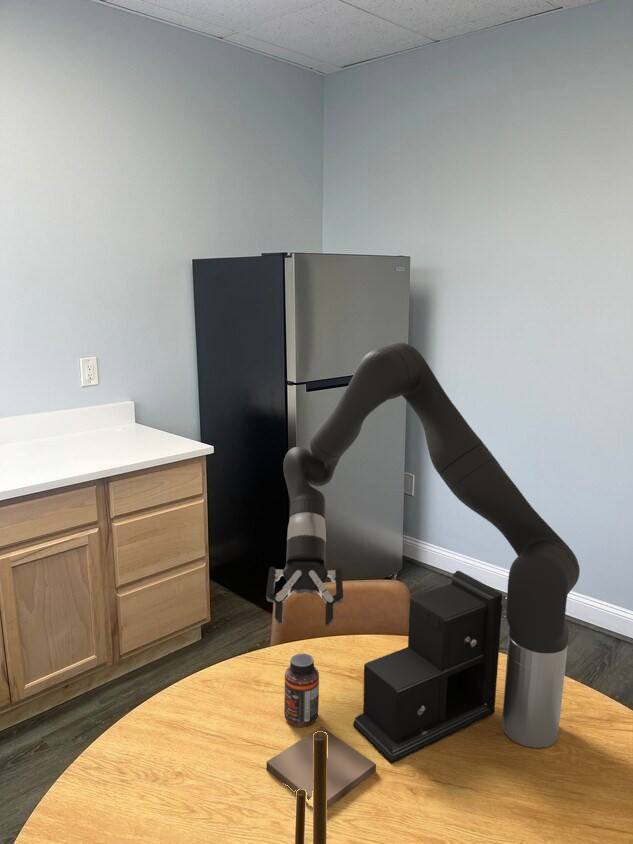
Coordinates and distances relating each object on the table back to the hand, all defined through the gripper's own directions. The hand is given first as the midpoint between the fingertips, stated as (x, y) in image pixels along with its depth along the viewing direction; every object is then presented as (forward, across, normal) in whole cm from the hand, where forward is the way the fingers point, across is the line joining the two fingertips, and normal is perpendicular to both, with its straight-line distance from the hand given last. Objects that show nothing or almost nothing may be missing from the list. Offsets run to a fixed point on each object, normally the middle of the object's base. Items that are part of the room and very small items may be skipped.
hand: (303, 624), depth 121 cm
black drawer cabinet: (+15, +21, +4) cm, 27 cm away
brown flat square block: (+24, +4, -6) cm, 25 cm away
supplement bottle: (+15, 0, +4) cm, 16 cm away
